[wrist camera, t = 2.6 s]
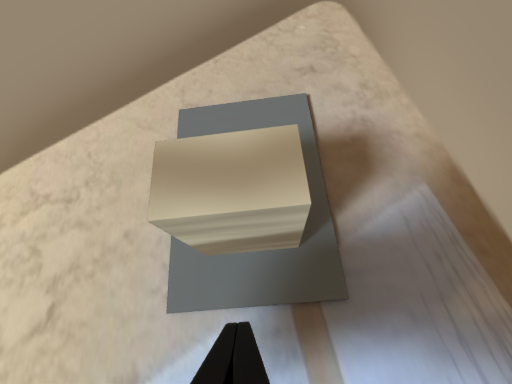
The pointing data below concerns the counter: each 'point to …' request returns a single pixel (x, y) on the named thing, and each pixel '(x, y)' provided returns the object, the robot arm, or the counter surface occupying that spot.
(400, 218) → the counter surface
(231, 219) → the beige block
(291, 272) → the rubber mat
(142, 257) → the counter surface
